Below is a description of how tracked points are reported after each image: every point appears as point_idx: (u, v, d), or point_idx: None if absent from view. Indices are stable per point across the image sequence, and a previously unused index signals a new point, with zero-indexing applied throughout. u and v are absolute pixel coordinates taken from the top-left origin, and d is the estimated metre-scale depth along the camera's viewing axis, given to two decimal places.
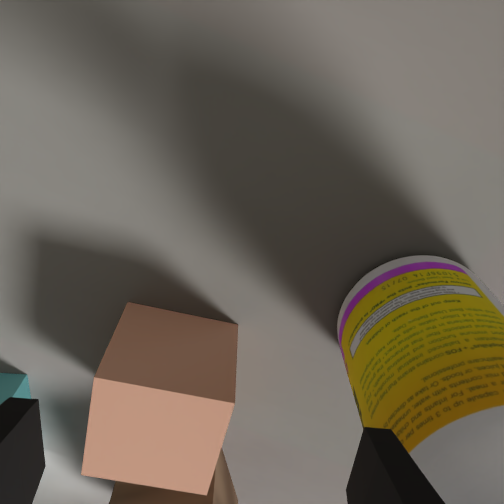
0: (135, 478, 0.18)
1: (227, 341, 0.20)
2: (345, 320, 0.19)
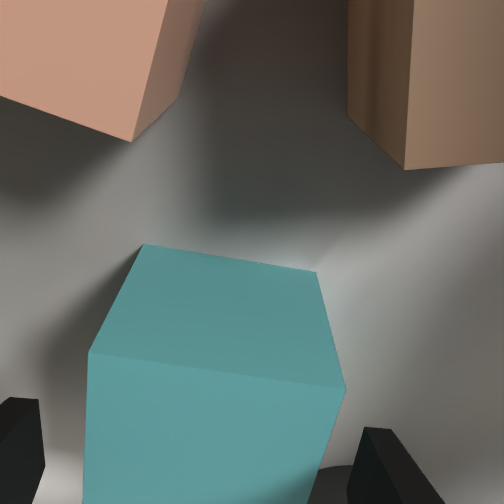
0: None
1: None
2: None
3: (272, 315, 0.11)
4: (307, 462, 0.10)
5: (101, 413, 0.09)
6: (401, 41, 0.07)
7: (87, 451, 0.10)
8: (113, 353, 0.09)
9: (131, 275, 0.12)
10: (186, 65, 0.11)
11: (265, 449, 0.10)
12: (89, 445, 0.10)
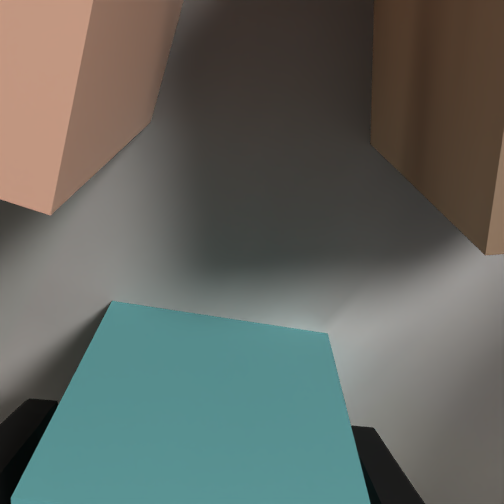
0: None
1: None
2: None
3: (274, 408, 0.08)
4: None
5: None
6: (487, 54, 0.04)
7: None
8: (47, 497, 0.06)
9: (90, 352, 0.09)
10: (160, 79, 0.08)
11: None
12: None
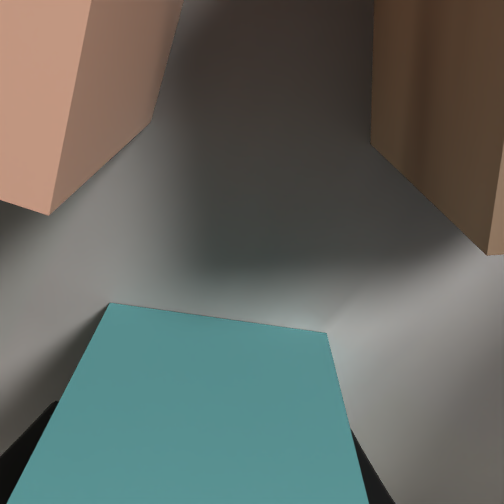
0: None
1: None
2: None
3: (272, 412, 0.08)
4: None
5: None
6: (490, 55, 0.04)
7: None
8: None
9: (86, 357, 0.09)
10: (160, 79, 0.08)
11: None
12: None
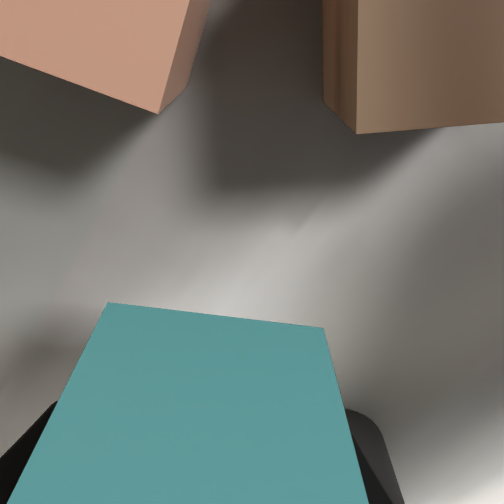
0: (172, 2, 0.09)
1: None
2: None
3: (270, 406, 0.08)
4: None
5: None
6: (353, 41, 0.10)
7: None
8: (43, 502, 0.06)
9: (85, 356, 0.09)
10: (193, 61, 0.14)
11: None
12: None
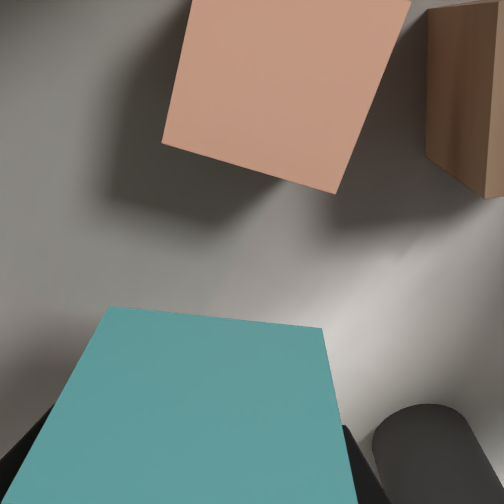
0: (353, 118, 0.12)
1: None
2: None
3: (264, 407, 0.09)
4: None
5: None
6: (481, 132, 0.13)
7: None
8: (36, 500, 0.06)
9: (83, 359, 0.09)
10: None
11: None
12: None
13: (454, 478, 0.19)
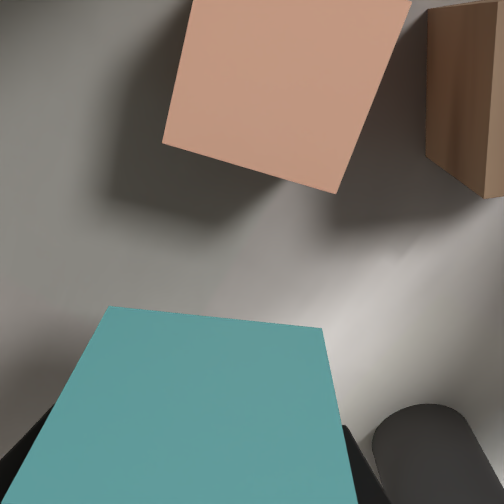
0: (354, 118, 0.12)
1: None
2: None
3: (264, 407, 0.09)
4: None
5: None
6: (480, 132, 0.13)
7: None
8: (36, 500, 0.06)
9: (83, 359, 0.09)
10: None
11: None
12: None
13: (454, 477, 0.19)
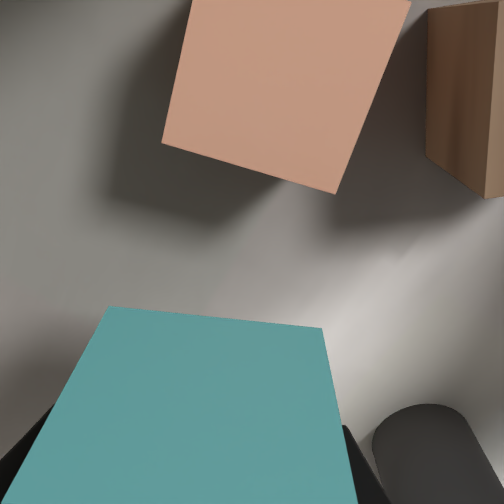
0: (353, 118, 0.12)
1: None
2: None
3: (264, 407, 0.09)
4: None
5: None
6: (481, 132, 0.13)
7: None
8: (36, 500, 0.06)
9: (83, 359, 0.09)
10: None
11: None
12: None
13: (454, 477, 0.19)
